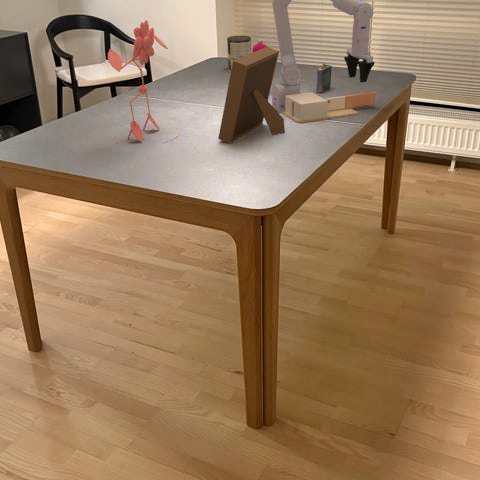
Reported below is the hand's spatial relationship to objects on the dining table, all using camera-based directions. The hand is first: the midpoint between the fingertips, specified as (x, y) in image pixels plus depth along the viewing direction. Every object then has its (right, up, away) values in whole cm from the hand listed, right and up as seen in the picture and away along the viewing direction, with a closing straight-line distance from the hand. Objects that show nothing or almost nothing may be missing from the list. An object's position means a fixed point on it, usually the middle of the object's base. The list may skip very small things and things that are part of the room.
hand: (357, 79), depth 215 cm
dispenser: (-14, -13, -3) cm, 19 cm away
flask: (-9, +2, +24) cm, 25 cm away
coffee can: (-41, +18, +56) cm, 72 cm away
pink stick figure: (-68, -24, -21) cm, 75 cm away
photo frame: (-36, -23, -21) cm, 48 cm away
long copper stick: (-3, -10, 0) cm, 10 cm away
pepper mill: (-33, +1, +23) cm, 40 cm away
